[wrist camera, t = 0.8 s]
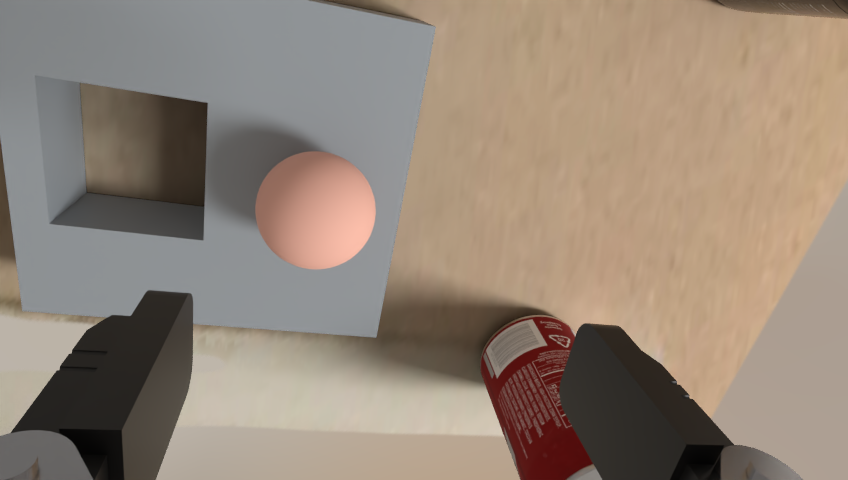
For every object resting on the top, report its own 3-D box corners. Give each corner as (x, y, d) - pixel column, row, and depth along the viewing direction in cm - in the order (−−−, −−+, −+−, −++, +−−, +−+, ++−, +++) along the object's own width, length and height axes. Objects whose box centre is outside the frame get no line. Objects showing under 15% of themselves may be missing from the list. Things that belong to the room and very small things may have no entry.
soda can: (462, 335, 35) (519, 491, 24) (558, 292, 34) (658, 432, 24) (496, 403, 38) (559, 570, 27) (584, 365, 37) (683, 518, 27)
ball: (267, 129, 23) (251, 163, 19) (379, 146, 24) (389, 183, 20) (259, 232, 25) (243, 285, 21) (363, 244, 26) (369, 296, 22)
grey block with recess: (31, -61, 22) (-27, -69, 19) (422, 20, 26) (435, 26, 23) (61, 270, 29) (22, 310, 25) (372, 298, 32) (376, 337, 29)
